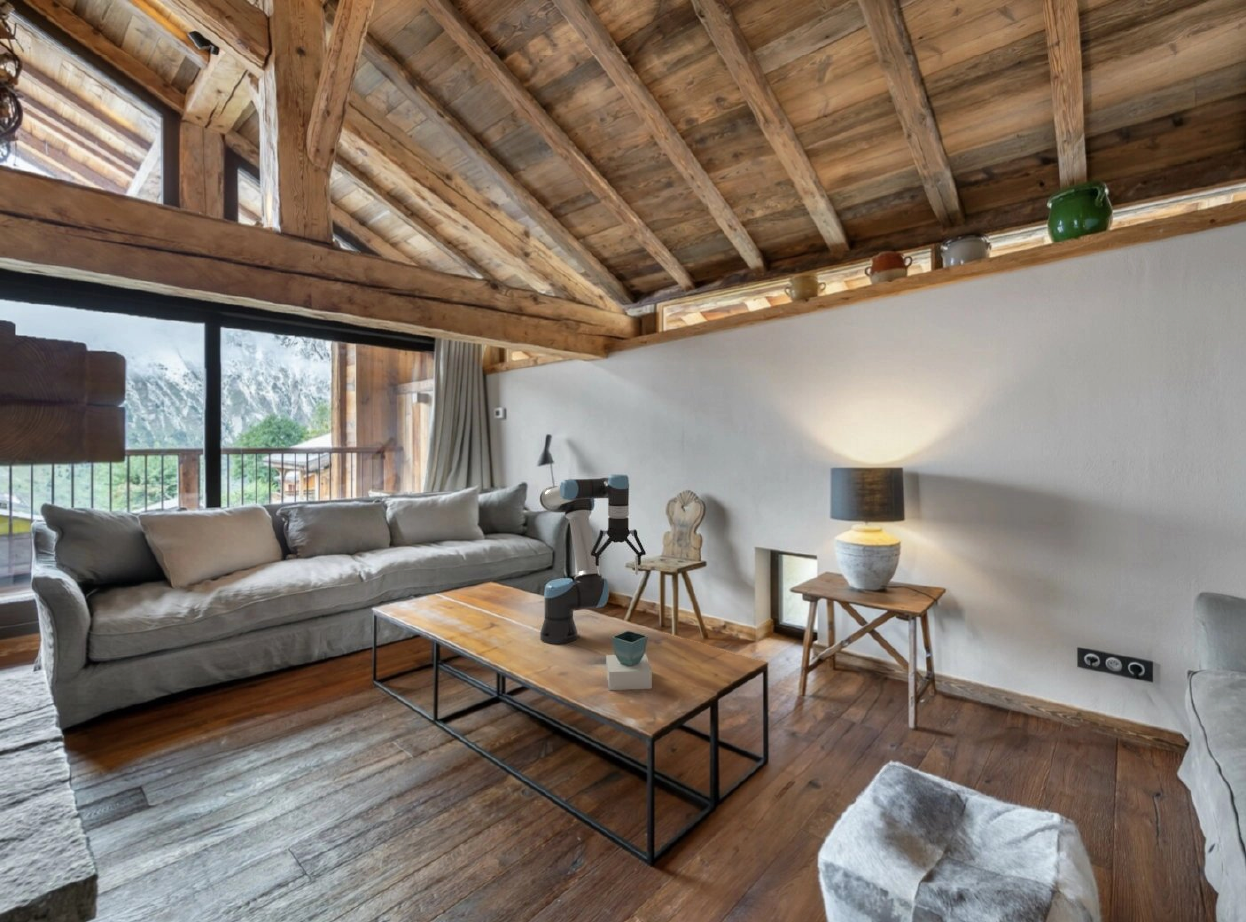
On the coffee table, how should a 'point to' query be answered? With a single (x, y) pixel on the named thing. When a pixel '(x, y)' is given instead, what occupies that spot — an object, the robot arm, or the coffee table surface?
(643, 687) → the stone slab
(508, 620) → the coffee table surface
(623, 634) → the flower pot
